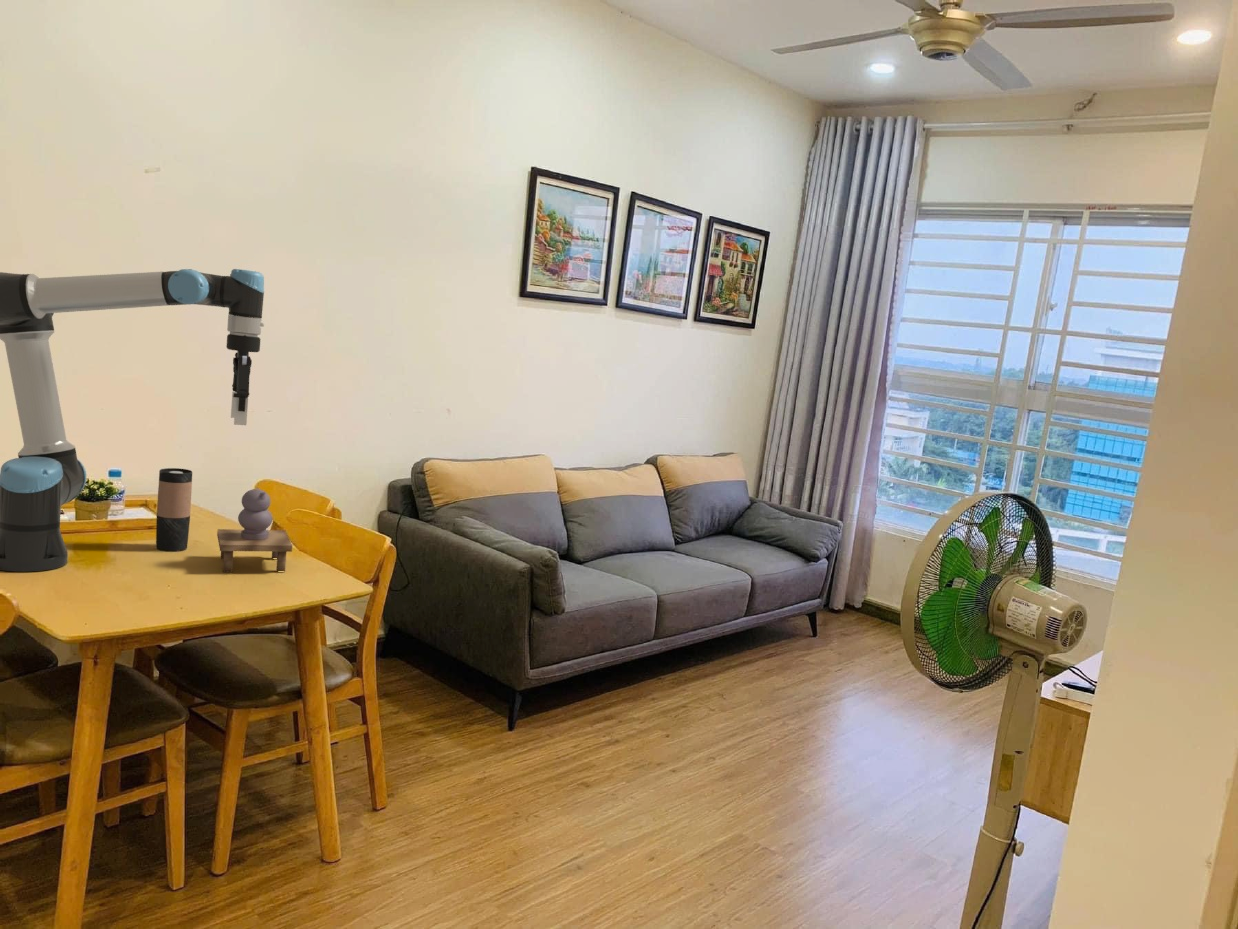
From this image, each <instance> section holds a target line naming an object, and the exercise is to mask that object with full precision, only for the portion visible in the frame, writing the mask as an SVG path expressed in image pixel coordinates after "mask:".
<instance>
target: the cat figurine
mask: <svg viewBox="0 0 1238 929" xmlns="http://www.w3.org/2000/svg"><path fill="white" fill-rule="evenodd" d="M271 502H272V501H271V497H270V495H269V494H268V493H267V492H266V491H264V490H263V489H260V488H259V486H258V487H256V488H255V489H254V488H252V489H250V490H247V491H246V492H245V493H244V494H243V495H242V496H241V505H242V507H243V509H242V510H241V511H240V512H239V514H238V515H237V516H238V517H237V520H238V523H239V525H240V526H241V527H242V528H243V529H241V530H242V531H241V538H243V539H248V540H264V539H268V538H269V532H268V531H266V530H267V529H268V528H269V527H270V526H271V525H272V522H273V519H274V518H273V515H272V513H271V511H270V510H268V509H269V508H270V506H271Z"/></svg>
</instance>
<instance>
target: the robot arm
mask: <svg viewBox="0 0 1238 929" xmlns="http://www.w3.org/2000/svg"><path fill="white" fill-rule="evenodd" d="M264 286H265V277H264V275H263V274H262V273H261V272H260V271H256V270H255V271H253V270H247V269H240V268H239V269H238V268H232V269H231V271H230V274H229V275H219V274H212V273H204V272H201V271H198V270H194V269H192V268H191V269H189V268H185V269H178V270H170V271H150V272H149V271H148V272H147V271H146V272H132V273H128V272H127V273H114V274H113V273H112V274H94V275H92V274H90V275H78V276H77V275H76V276H73V275H72V276H57V277H56V276H55V277H40V278H39V277H38V276H37V275H35V273H26V274H25V273H12V272H11V273H10V272H2V271H0V340H1V341H2V342H3V343H4V347H5V352H6V356H7V362H8V367H9V372H10V378H11V383H12V388H13V393H14V399H15V404H16V405H15V406H16V409H17V410H16V411H17V414H18V420H19V425H20V429H21V430H20V431H21V436H22V437H21V438H22V441H23V446H22V448H21V449H20V450H19V451H18V452H17V456H18V457H15V458H12V459H9V460H6V461H5V462H4V463H2V465H1V467H0V571H4V572H5V571H6V572H16V573H17V572H18V573H20V572H23V573H24V572H26V573H27V572H29V573H30V572H41V571H44V572H45V571H50V570H54V569H58V568H61V567H64V566H66V565H67V564H68V559H69V557H68V555H69V554H68V549H67V548H66V547H67V546H66V544H65V541H64V538H63V535H62V533H61V514H62V513H61V509H62V508H61V507H62V506H64V505H66V504H68V503H70V502H72V501H74V500H75V499H76V498H77V497H78V496H79V495H80V494H81V493H82V491H83V490H84V488H85V486H86V483H87V470H86V468H85V466H84V465H83V463H82V462H81V460H79V459H78V456H77V450H76V446H75V445H74V444H72V443H71V442H69V441H68V440H67V436H66V429H65V425H64V424H65V423H64V420H63V414H62V409H61V401H60V398H59V397H60V396H59V392H58V391H59V390H58V385H57V381H56V376H55V368H54V363H53V359H52V353H51V347H50V342H49V341H50V338H51V336H52V335H53V334H55V327H54V321H53V316H54V314H57V313H59V314H60V313H61V314H62V313H73V312H88V311H102V310H103V311H104V310H117V309H133V308H134V309H135V308H148V307H163V306H164V307H165V306H183V305H184V306H186V305H200V306H208V307H219V308H223V309H224V308H227V309H228V317H227V330H226V331H227V332H228V334H227V335H226V336H227V337H226V349H227V350H229V351H236V352H235V354H234V357H233V358H232V359H233V360H232V365H233V367H232V368H233V369H232V370H233V378H232V379H233V380H232V384H231V387H232V394H231V396H232V397H231V406H230V407H231V409H230V418H232V419H234V420H233V425H236V426H247V422H248V421H247V418H248V406H249V405H248V404H249V396H250V375H251V367H252V359H251V356H249V353H259V352H260V351H261V350H260V349H261V337H259V336H260V335H261V332H262V327H264V326H265V323H264V322H262V318H263V308H264V298H265V297H264V296H265V287H264Z"/></svg>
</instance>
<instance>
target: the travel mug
mask: <svg viewBox="0 0 1238 929" xmlns="http://www.w3.org/2000/svg"><path fill="white" fill-rule="evenodd" d="M158 475H159V476H158V487H157V501H156V502H157V504H156V520H155V521H156V522H155V523H156V526H155V527H156V528H155V530H156V531H155V532H156V533H155V538H156V539H155V548H156V550H158V551H161V552H171V553H172V552H183V551H185V550H187V549H188V544H189V543H188V541H189V532H190V523H191V512H192V511H191V506H192V490H193V489H192V488H193V486H192V485H193V471H192V470H191V469H188V468H187V469H186V468H180V467H179V468H175V467H174V468H173V467H170V468H169V467H168V468H161V469H159V474H158Z"/></svg>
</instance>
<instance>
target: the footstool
mask: <svg viewBox="0 0 1238 929" xmlns="http://www.w3.org/2000/svg"><path fill="white" fill-rule="evenodd" d="M242 530H243V529H234V528H233V529H230V528H228V529H227V528H225V529H220V528H219V529H217V532H216V536H217V542H218V547H219V551H220V560H223V561H222V562H223V564H222V573H224V574H225V573H227V574H229V573H232V572H233V564H234V562H233V560H234V559H233V558H234V552H271V559H272V558H277V560H276V571H285V572H286V564H287V553H288V552H293V544H292V541H291V540H290V537H289V535H288V534H287V531H286V529H285V530H283V529H280V530H278V529H277V530H276V529H266V531H268V532H269V538H268V539H264V540H248V539H243V538H241V531H242Z"/></svg>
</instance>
